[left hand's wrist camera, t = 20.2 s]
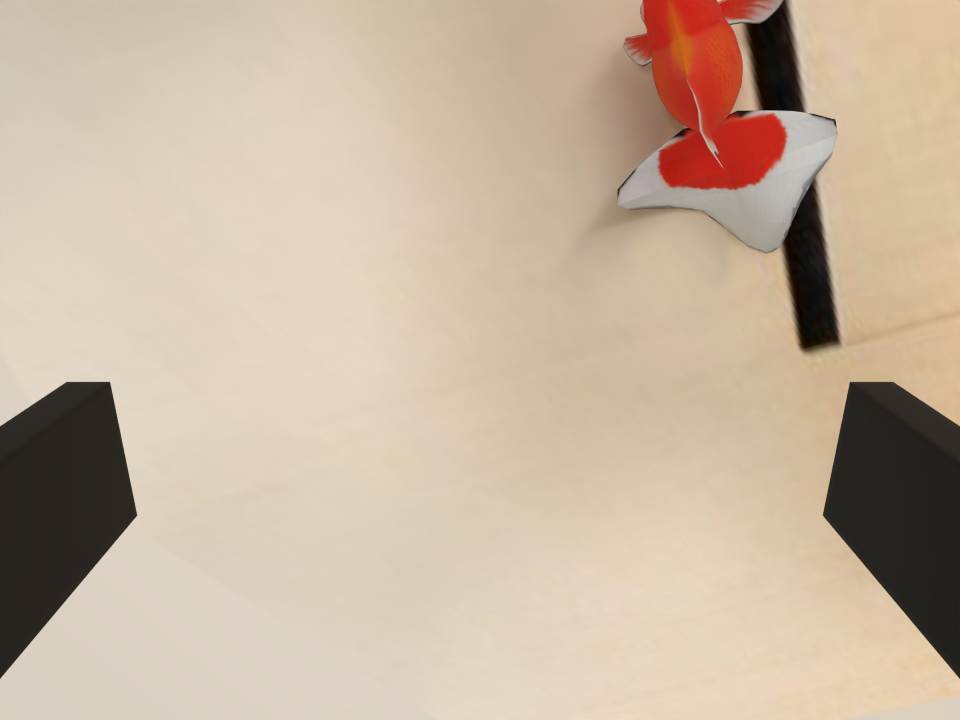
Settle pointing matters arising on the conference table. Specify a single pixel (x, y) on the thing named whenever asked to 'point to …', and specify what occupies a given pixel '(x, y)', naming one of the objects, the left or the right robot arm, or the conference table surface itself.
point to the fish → (721, 126)
